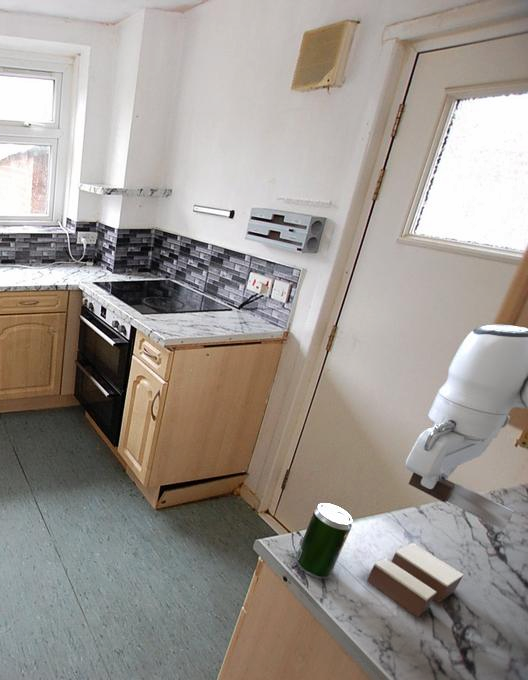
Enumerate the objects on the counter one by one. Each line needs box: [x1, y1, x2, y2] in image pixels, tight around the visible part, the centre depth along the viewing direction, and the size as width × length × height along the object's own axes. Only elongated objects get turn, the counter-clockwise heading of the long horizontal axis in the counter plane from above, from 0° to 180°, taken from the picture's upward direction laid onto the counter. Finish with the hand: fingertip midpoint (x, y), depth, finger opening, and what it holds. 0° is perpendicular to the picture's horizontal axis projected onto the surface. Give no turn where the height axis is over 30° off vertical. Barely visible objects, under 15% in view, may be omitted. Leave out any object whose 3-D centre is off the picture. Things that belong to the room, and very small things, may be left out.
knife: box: [408, 472, 516, 531], centre depth 79 cm, size 13×2×4 cm, turn 26°
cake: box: [390, 542, 464, 604], centre depth 79 cm, size 8×6×4 cm
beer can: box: [296, 502, 353, 580], centre depth 79 cm, size 5×5×12 cm
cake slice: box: [366, 557, 436, 618], centre depth 76 cm, size 8×3×4 cm, turn 28°
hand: (432, 484), depth 82 cm, fingers closed on knife, 2 cm apart
